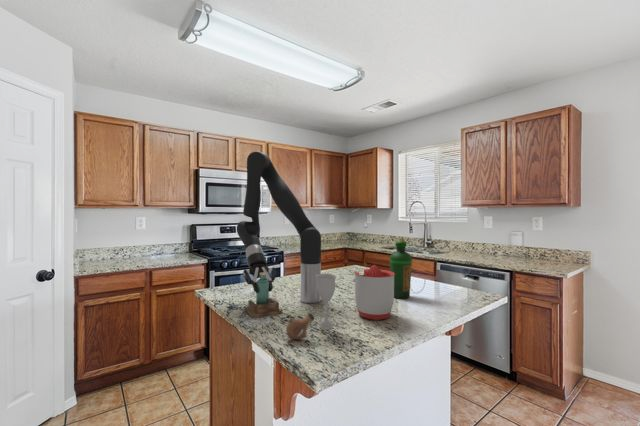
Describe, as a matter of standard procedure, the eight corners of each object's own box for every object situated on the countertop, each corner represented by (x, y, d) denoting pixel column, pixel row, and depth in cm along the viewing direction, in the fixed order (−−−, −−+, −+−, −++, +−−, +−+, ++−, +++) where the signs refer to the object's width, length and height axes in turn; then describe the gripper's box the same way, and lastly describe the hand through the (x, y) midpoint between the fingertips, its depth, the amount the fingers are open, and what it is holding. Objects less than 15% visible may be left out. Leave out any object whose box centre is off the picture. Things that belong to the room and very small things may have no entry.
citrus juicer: (366, 306, 136) (366, 259, 136) (402, 315, 123) (402, 264, 123) (342, 314, 125) (342, 263, 125) (379, 325, 112) (379, 269, 112)
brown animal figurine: (312, 335, 103) (313, 311, 103) (315, 340, 99) (315, 315, 99) (285, 338, 101) (285, 313, 101) (287, 343, 97) (287, 317, 97)
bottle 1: (268, 303, 131) (268, 271, 131) (269, 306, 126) (269, 274, 126) (255, 303, 130) (256, 272, 130) (256, 307, 125) (256, 274, 125)
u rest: (271, 305, 136) (271, 296, 136) (282, 313, 126) (282, 303, 126) (244, 309, 130) (244, 299, 130) (252, 317, 120) (252, 307, 120)
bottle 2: (414, 300, 146) (415, 239, 146) (391, 299, 146) (392, 239, 146) (408, 294, 157) (409, 237, 156) (387, 293, 157) (387, 237, 157)
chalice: (338, 324, 113) (338, 274, 113) (333, 331, 107) (333, 278, 107) (319, 322, 115) (319, 273, 115) (312, 328, 109) (313, 276, 109)
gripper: (240, 252, 131) (248, 287, 121) (273, 251, 138) (283, 284, 127) (237, 263, 136) (244, 298, 125) (269, 261, 143) (278, 294, 132)
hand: (264, 291), depth 126 cm, fingers closed on bottle 1, 5 cm apart
